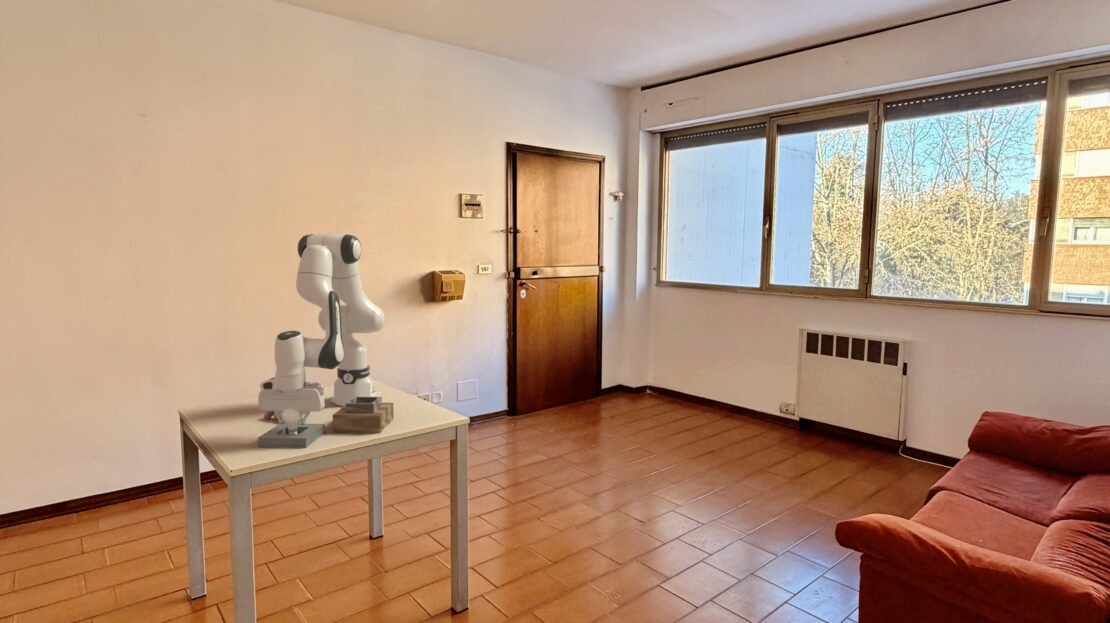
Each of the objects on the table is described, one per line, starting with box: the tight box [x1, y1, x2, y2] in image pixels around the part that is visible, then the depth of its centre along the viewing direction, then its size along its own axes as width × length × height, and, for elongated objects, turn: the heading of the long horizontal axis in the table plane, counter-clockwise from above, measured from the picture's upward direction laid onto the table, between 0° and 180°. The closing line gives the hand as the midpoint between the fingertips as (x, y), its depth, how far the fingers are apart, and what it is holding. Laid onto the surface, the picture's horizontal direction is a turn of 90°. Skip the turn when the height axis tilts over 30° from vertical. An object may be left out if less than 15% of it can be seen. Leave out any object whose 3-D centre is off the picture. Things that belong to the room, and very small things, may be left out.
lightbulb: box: [281, 408, 304, 434], centre depth 194 cm, size 6×6×11 cm
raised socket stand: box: [332, 396, 395, 434], centre depth 209 cm, size 16×16×9 cm
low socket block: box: [257, 423, 326, 448], centre depth 194 cm, size 15×15×3 cm
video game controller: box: [263, 411, 282, 421], centre depth 215 cm, size 10×5×7 cm, turn 60°
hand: (292, 424), depth 194 cm, fingers closed on lightbulb, 6 cm apart
